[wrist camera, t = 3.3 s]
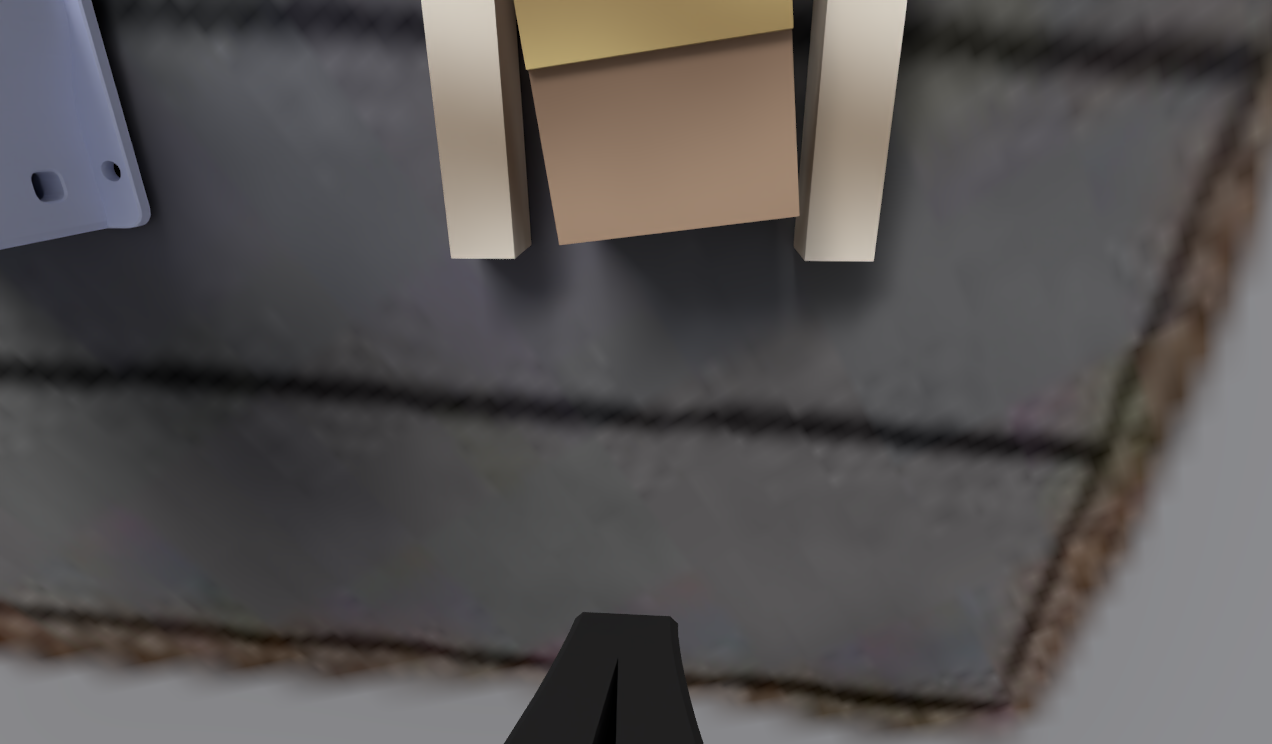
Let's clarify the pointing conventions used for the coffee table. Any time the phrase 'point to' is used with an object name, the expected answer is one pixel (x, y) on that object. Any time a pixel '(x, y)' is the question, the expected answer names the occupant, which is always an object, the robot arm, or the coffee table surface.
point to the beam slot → (831, 142)
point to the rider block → (662, 112)
